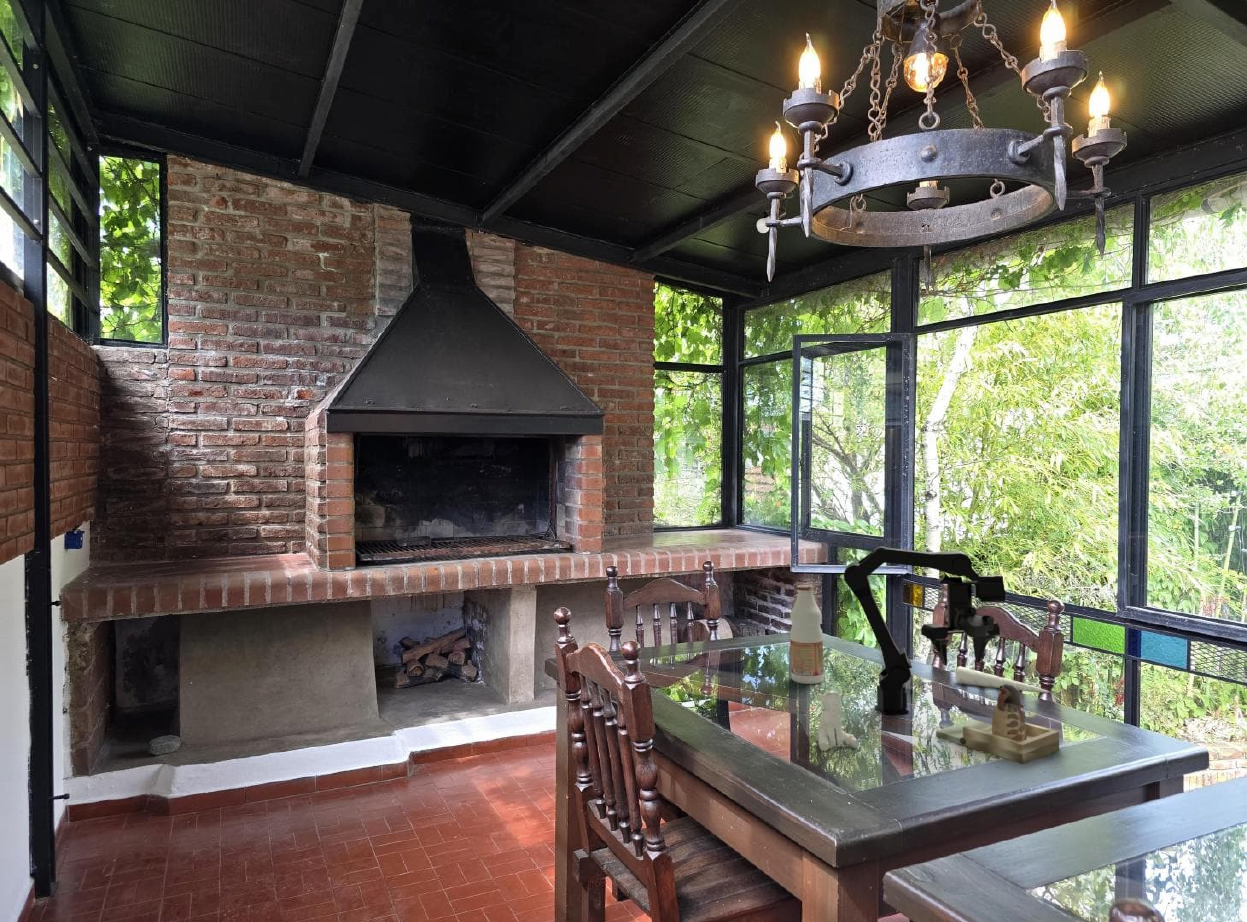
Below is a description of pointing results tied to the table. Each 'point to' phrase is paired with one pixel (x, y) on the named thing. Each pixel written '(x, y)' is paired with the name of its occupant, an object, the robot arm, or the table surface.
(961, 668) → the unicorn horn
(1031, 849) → the table surface
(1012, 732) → the figurine
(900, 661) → the robot arm
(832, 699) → the beige lumpy upright piece
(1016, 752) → the shallow wooden tray
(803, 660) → the fruit juice
